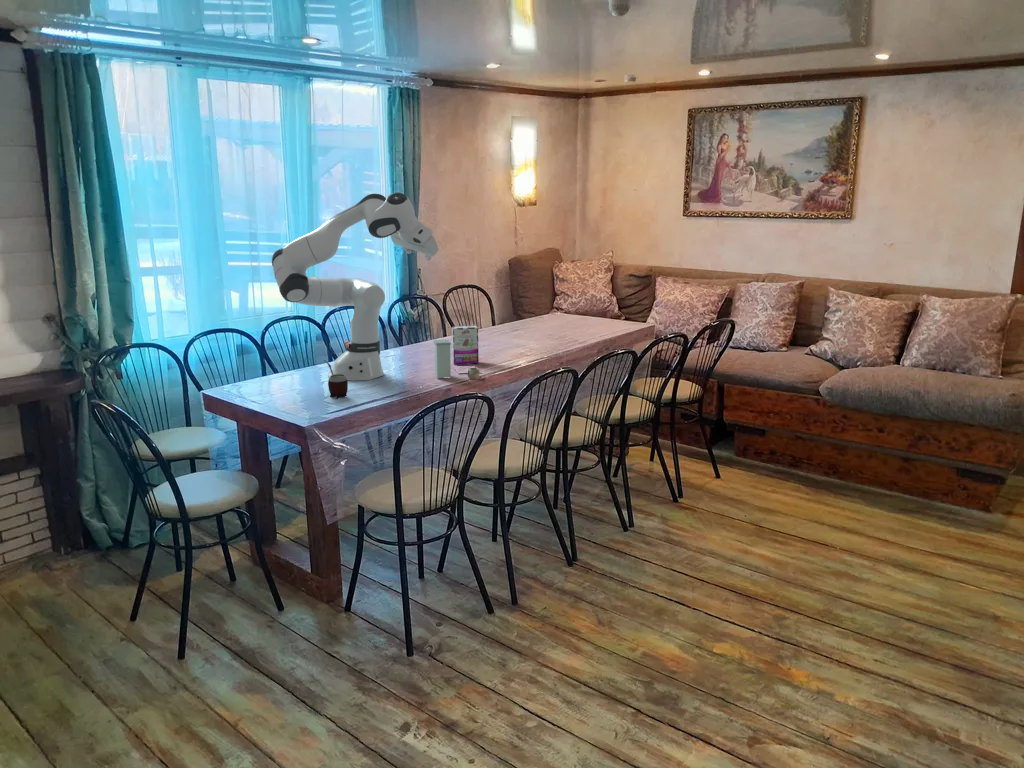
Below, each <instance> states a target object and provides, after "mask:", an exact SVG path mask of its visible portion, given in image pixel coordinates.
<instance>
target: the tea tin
mask: <svg viewBox="0 0 1024 768" xmlns="http://www.w3.org/2000/svg"><path fill="white" fill-rule="evenodd" d="M433 343H434V376H435V375H436V377H437V378H444V377H451V378H452V376H451V371H452V369H451V367H452V365H451V364H452V363H451V346H452V343H451V341H450V340H449V339H438V340H437V339H435V340H433ZM436 377H435V378H436ZM437 378H436V379H437Z"/></svg>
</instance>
